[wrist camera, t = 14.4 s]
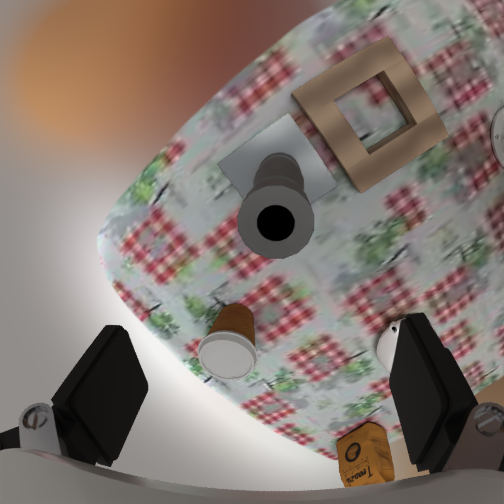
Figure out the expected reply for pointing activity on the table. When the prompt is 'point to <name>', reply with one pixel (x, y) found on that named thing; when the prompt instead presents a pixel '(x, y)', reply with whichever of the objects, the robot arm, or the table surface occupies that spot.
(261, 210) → the candle holder
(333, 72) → the socket block
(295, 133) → the metal tile
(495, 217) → the table surface
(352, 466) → the coffee package
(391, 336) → the teapot
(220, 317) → the disposable coffee cup
